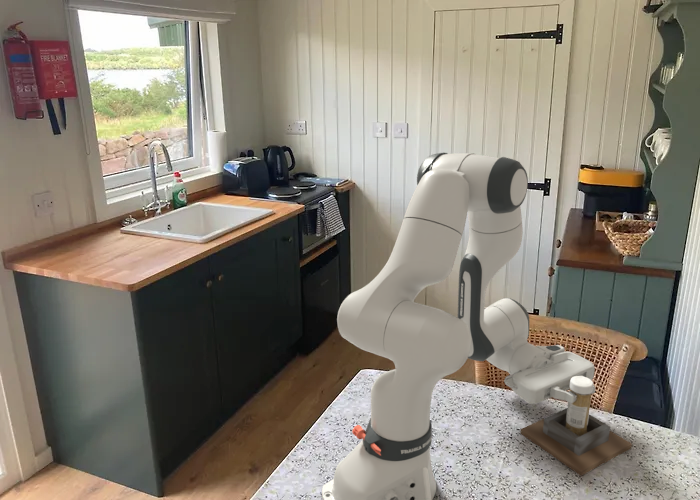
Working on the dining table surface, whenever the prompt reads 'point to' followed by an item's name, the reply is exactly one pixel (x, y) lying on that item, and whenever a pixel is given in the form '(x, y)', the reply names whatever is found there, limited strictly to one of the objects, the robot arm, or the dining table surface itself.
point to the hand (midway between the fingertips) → (584, 395)
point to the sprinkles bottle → (579, 405)
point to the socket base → (576, 442)
